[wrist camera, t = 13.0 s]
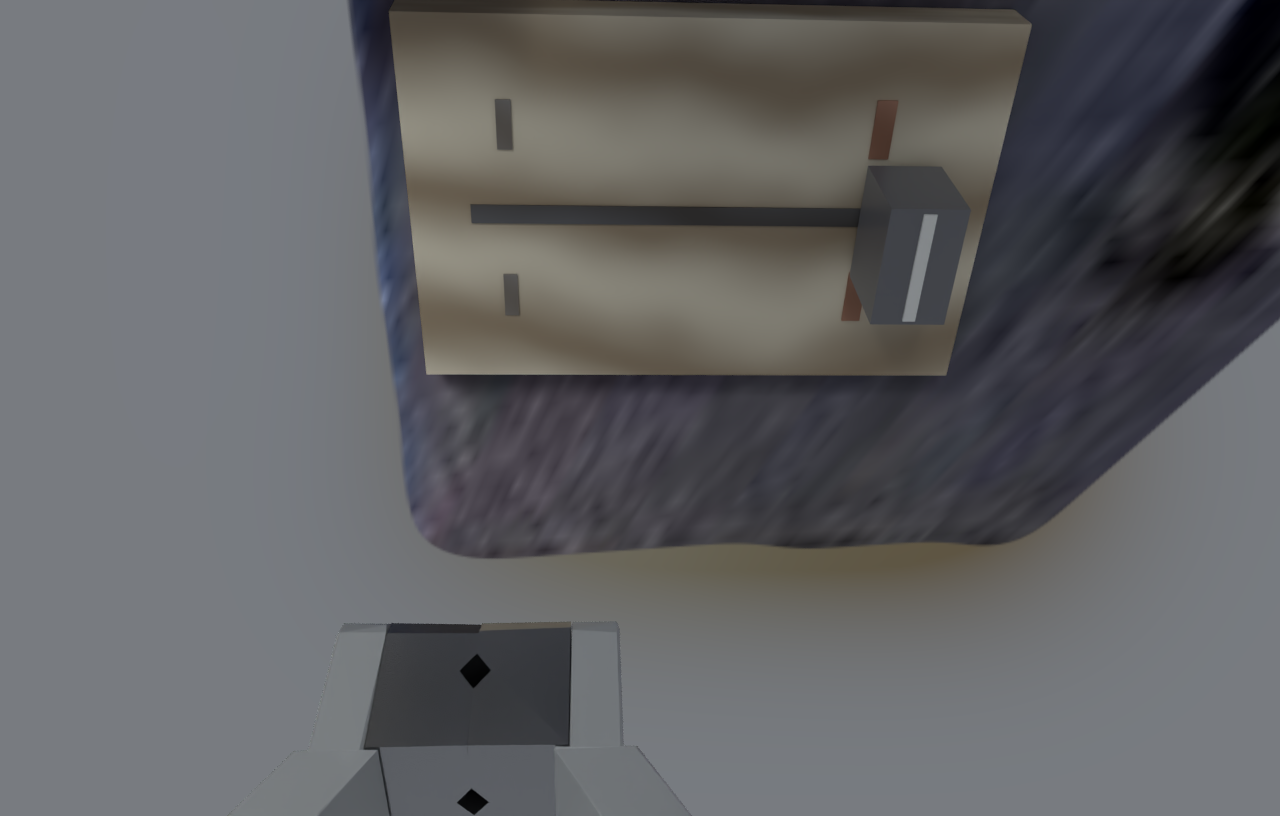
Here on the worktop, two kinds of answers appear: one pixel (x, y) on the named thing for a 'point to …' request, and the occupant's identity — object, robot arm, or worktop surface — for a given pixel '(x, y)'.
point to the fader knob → (908, 244)
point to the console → (681, 177)
